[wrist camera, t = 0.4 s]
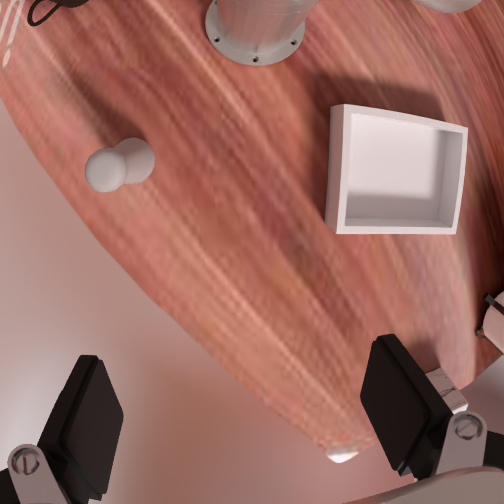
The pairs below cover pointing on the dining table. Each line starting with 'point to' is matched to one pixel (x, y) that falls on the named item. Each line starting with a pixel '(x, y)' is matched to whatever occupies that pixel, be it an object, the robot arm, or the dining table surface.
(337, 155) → the bin
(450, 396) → the supplement box
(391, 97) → the dining table surface
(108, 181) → the salt shaker
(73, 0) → the coffee mug
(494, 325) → the coffee press
